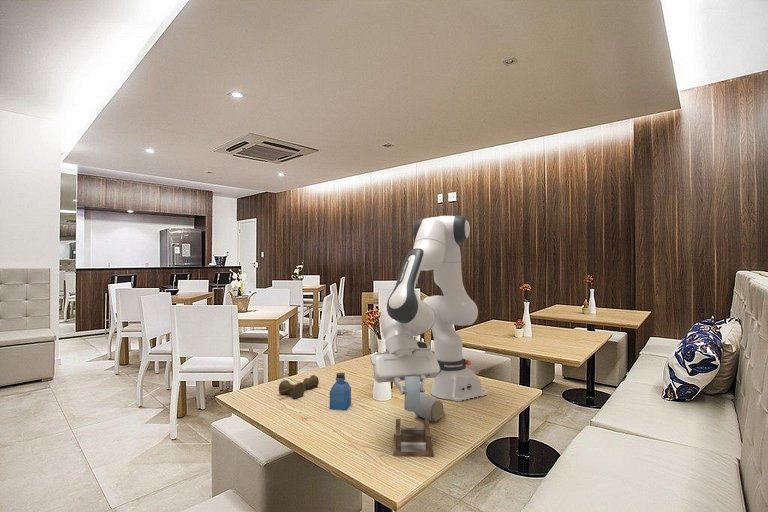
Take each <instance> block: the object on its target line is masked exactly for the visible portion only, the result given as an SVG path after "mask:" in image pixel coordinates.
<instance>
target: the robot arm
mask: <svg viewBox="0 0 768 512" xmlns="http://www.w3.org/2000/svg"><path fill="white" fill-rule="evenodd" d="M470 227H471V225H470V224H469V220H468V219H467V217H466V216H463V215H439V216H434V217H433V216H432V217H426V218H425V217H422V218H418V219H417V220H416V221H414V223H413V225H412V230H411V231H412V237H413V238H412V239H413V240H414V244H413V248H412V249H410V250H409V251H408V253H407V254H406V256H405V258H404V260H403V263H402V266H401V269H400V271H399V275H398V278H397V279H396V283H395V286H394V288H393V290H392V291H391V294H390V295H389V297H388V299H387V302H386V305H385V307H383V308H382V310H381V312H380V316H379V320H380V321H379V322H380V328H381V329H380V330H381V333H382V337H383V338H384V340H385V342H384V343H385V348H386V351H376V352H374V353H372V354H371V356H370V357H369V358H370V363H371V364H372V366H373V369H372V371H373V378H374V381H375V382H376V383H378V384H381V383H392V382H393V385H394V387H396V388H397V390H399V394H400V395H405V394H406V392H407V391H406V387H405V385H402V384H401V382H400V381H405V376H411V375H416V376H419V377H420V393H425V392H426V387H425V383H426V379H433V380H432V386H431V390H430V394H431V396H432V397H434V398H437V399H438V398H439V399H442V400H449V401H455V402H463V401H462V400H464V401H467V400H466V399H468V400H471V399H470V398H473V399H475V398H474V397H477V398H479V397H478V396H482V397H484V396H483V395H486V396H488V391H487V389H485V388H484V387H483V386H482V382H481V380H480V378H479V376H478V375H477V374H476V373H474V372H473V371H472V370H470V369H469V368H468V367H467V366H471V365H472V361H471V360H469V359H465V358H463V340H462V339H463V338H462V337H461V336H460V335H459V334H458V333H457V332H456V330H455V329H454V326H458V327H459V326H460V327H461V326H463V327H464V326H470V325H473V324H474V323H475V322H476V320H477V318H478V316H479V309H478V307H477V304H476V302H475V301H474V300H473V299H471V297H470V296H469V295H468V292H467V291H466V289H465V286H464V283H463V282H464V281H463V275H462V274H463V273H462V255H461V246H462V245H463V244H464V243H465V242H467V240H469V237H470V232H471V228H470ZM421 271H433V281H434V283H435V284H436V286H438V287H439V288H440V290H441V291H442V292H441V293H442V294H443V295H437V294H436V295H430V296H427V297H425V298H424V299H423V300H422V299H421V298H420V297H419V296H418V294H417V292H416V286H417V283H418V280H419V277H420V273H421ZM430 330H431V333H432V337H433V343H434V346H433V347H434V352H433V351H431V345H430V343H428V342H426V341H420V340H418V339H414V337H418V336H420V335H423V334H425V333H427V332H429V331H430Z"/></svg>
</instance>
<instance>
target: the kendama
mask: <svg viewBox="0 0 768 512" xmlns="http://www.w3.org/2000/svg"><path fill="white" fill-rule="evenodd" d="M319 383H320V379H319V378H318V376H317V375H315V374H312V375H311V376H310V377H309V378H308V377H306V378H304V379H303V381H301V382H297V383H295V384H292V383H291V382H290V381H289V380H287V379H285V380H282V381H281V382H280V383H279V385H278V394H280V395H287V394H292V395H293V397H294V398H295V399H297V400H298V399H300V398H302V397H303V396H304V394H305V393H306V392H305V389H307V390H309V389H311V388H316V387H319Z"/></svg>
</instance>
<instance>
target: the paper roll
mask: <svg viewBox="0 0 768 512" xmlns="http://www.w3.org/2000/svg"><path fill="white" fill-rule="evenodd" d="M420 384H421V382H420V377H419V376H416V375H411V376H405V380H404V386H405V387H406V391H407V392H406V394H404V410H405V411H406V412H410V413H414V412H416V411H419V410H420V393H421V392H420Z"/></svg>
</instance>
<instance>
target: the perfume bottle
mask: <svg viewBox="0 0 768 512" xmlns="http://www.w3.org/2000/svg"><path fill="white" fill-rule="evenodd" d="M335 375H336V376H335V382H334V383H333V385H332V386H331V389H330V390H329V410H335V411H347V410H348V409H349V408H350V406H351V405H352V387H351V385H350V383H349V382H348V381H346V376H345V375H346V373H345V372H336V373H335Z"/></svg>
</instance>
